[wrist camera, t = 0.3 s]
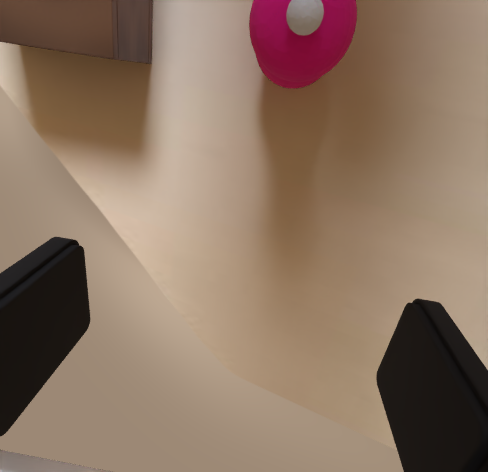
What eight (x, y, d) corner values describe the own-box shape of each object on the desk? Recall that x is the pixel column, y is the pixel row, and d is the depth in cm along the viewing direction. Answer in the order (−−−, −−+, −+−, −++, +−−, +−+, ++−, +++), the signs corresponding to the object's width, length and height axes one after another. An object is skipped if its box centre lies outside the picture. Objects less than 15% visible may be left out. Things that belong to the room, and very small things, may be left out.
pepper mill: (249, 75, 35) (212, 71, 17) (270, -6, 32) (252, -119, 14) (315, 96, 35) (348, 114, 17) (342, 17, 32) (419, -64, 14)
